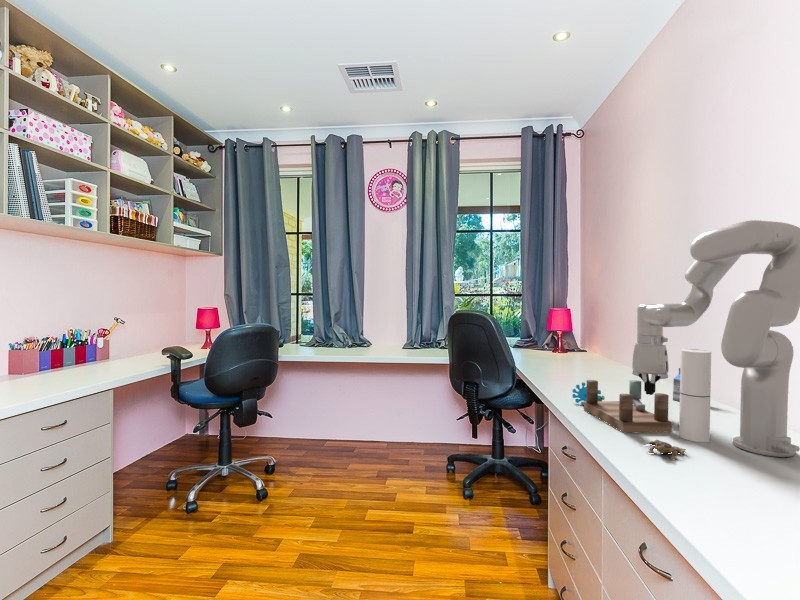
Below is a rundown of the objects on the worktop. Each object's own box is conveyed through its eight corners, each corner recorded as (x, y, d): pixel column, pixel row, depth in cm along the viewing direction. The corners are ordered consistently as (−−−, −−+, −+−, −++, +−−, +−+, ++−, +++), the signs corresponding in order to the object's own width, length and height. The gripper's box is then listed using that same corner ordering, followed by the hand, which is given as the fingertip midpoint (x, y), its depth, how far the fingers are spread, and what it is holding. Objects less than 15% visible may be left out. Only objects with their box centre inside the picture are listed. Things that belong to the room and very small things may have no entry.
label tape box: (672, 400, 164) (672, 368, 163) (678, 398, 165) (678, 367, 165) (697, 405, 156) (697, 372, 156) (703, 404, 158) (703, 371, 157)
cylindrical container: (680, 439, 120) (682, 351, 119) (677, 432, 126) (679, 348, 125) (711, 443, 116) (713, 353, 116) (707, 435, 123) (708, 349, 122)
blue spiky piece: (568, 399, 157) (576, 378, 162) (569, 408, 161) (578, 386, 166) (599, 408, 150) (607, 386, 155) (600, 417, 154) (608, 395, 159)
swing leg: (647, 411, 136) (647, 388, 136) (634, 410, 137) (635, 387, 137) (640, 401, 148) (640, 380, 148) (628, 400, 149) (628, 379, 149)
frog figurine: (689, 467, 102) (690, 451, 101) (634, 455, 109) (634, 440, 109) (695, 453, 110) (696, 439, 110) (643, 443, 118) (643, 429, 118)
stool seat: (671, 432, 126) (672, 396, 126) (623, 432, 125) (623, 396, 125) (624, 409, 150) (625, 379, 150) (583, 410, 149) (583, 379, 149)
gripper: (678, 341, 142) (678, 395, 142) (630, 338, 152) (630, 389, 152) (671, 342, 136) (671, 399, 136) (622, 339, 147) (622, 392, 147)
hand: (649, 393), depth 144 cm, fingers closed
